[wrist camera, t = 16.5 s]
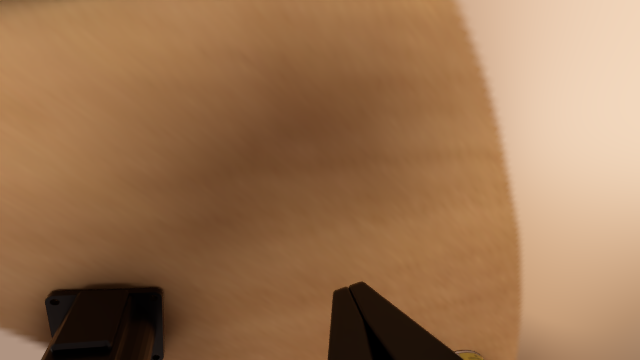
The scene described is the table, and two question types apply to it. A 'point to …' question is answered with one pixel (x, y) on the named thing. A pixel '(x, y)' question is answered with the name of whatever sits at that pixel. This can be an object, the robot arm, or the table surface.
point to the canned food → (469, 355)
